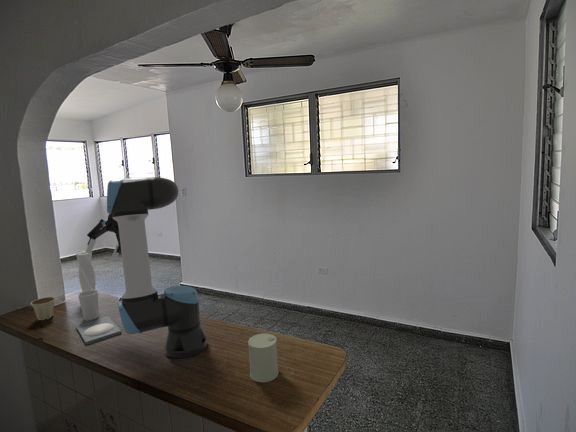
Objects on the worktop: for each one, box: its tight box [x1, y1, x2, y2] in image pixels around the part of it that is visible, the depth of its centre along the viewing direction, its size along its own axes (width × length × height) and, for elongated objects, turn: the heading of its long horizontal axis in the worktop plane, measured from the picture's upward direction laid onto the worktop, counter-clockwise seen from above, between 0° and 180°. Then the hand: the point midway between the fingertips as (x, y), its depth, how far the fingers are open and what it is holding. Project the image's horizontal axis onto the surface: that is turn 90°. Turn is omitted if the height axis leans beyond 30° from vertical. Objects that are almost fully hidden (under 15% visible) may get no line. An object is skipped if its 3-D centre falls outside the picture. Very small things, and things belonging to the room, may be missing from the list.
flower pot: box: [30, 296, 56, 321], centre depth 162 cm, size 9×9×9 cm
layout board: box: [75, 315, 122, 346], centre depth 146 cm, size 20×13×1 cm, turn 41°
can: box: [247, 333, 280, 383], centre depth 110 cm, size 9×9×12 cm
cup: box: [77, 289, 100, 321], centre depth 160 cm, size 8×8×12 cm
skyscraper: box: [75, 247, 97, 292], centre depth 181 cm, size 8×8×28 cm
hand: (100, 256), depth 156 cm, fingers open, 13 cm apart
